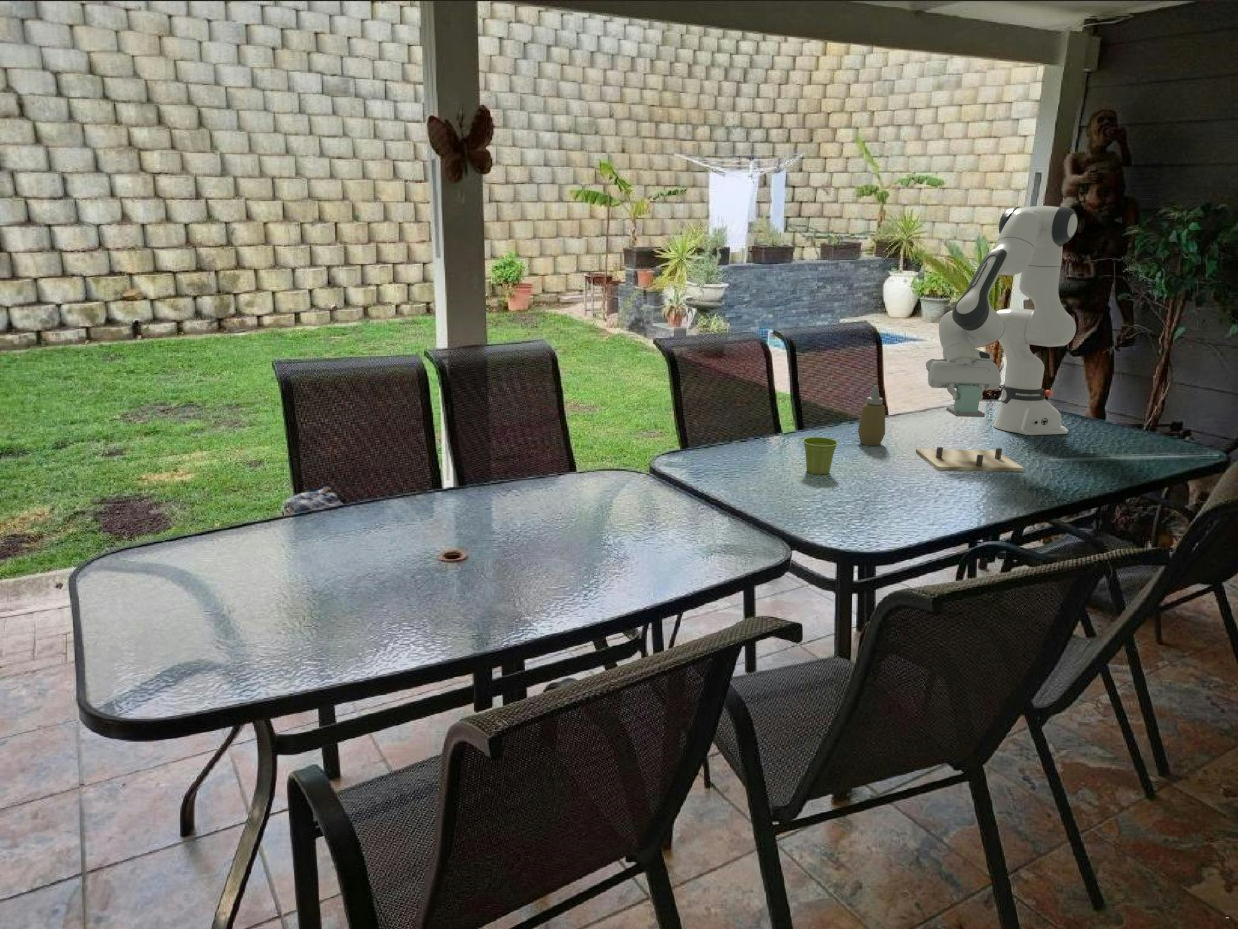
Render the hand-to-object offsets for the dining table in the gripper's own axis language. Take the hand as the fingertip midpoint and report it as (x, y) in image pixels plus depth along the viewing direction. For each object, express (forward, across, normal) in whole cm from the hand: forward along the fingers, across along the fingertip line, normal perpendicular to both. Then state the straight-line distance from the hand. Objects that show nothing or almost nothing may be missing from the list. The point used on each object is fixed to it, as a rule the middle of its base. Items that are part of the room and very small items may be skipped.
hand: (968, 399), depth 247 cm
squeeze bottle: (+3, -22, +22) cm, 32 cm away
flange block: (+3, 0, +4) cm, 4 cm away
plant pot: (+25, -45, +1) cm, 52 cm away
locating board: (+15, +1, +9) cm, 18 cm away
